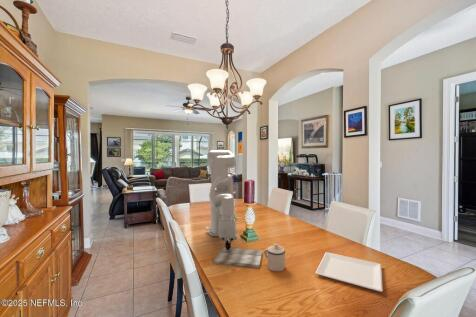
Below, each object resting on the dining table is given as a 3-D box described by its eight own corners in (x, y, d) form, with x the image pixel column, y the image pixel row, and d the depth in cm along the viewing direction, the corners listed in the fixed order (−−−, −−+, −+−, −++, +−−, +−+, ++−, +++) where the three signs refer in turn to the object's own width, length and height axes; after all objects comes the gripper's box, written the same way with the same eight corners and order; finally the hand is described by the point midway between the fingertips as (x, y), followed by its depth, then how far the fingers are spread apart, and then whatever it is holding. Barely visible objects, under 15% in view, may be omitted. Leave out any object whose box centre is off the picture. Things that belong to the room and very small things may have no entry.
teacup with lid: (289, 267, 109) (288, 244, 109) (278, 274, 103) (277, 249, 103) (270, 259, 118) (270, 237, 118) (259, 264, 112) (258, 242, 111)
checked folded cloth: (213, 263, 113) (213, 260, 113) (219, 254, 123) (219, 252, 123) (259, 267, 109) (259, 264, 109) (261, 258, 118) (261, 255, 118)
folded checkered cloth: (219, 254, 124) (219, 251, 124) (222, 249, 129) (222, 247, 129) (261, 258, 119) (261, 255, 119) (262, 253, 125) (262, 250, 124)
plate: (382, 296, 87) (382, 291, 87) (315, 277, 101) (315, 272, 101) (381, 267, 109) (381, 263, 109) (325, 255, 123) (325, 251, 123)
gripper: (213, 218, 125) (213, 250, 125) (239, 220, 122) (239, 252, 122) (217, 215, 132) (217, 245, 132) (241, 216, 129) (241, 247, 129)
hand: (228, 248), depth 127 cm, fingers closed
